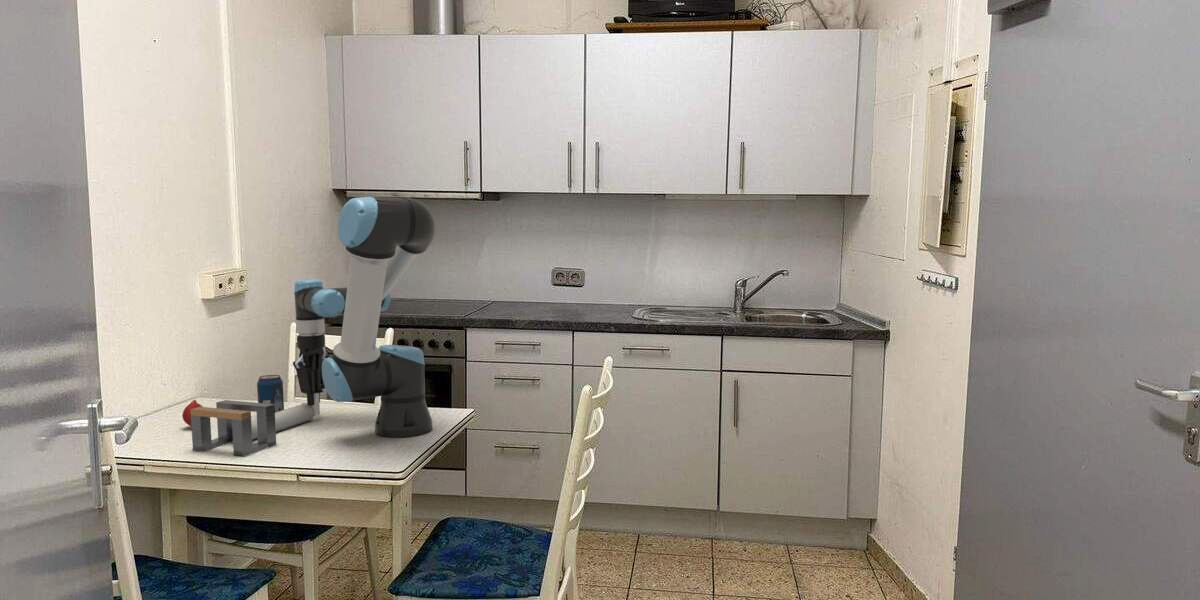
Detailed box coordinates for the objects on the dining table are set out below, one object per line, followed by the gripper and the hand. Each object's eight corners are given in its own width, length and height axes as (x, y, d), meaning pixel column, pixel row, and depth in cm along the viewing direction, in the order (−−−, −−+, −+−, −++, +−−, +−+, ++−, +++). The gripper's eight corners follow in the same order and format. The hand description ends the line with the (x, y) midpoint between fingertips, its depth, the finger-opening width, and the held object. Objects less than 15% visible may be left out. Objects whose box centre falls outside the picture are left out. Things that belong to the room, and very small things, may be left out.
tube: (249, 429, 202) (316, 406, 225) (233, 421, 204) (301, 399, 227) (245, 447, 203) (312, 423, 226) (229, 439, 205) (297, 416, 228)
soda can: (263, 414, 235) (261, 374, 234) (287, 413, 235) (285, 374, 234) (254, 420, 228) (252, 379, 227) (279, 419, 228) (277, 378, 227)
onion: (180, 431, 216) (178, 402, 215) (187, 426, 222) (185, 397, 221) (203, 430, 217) (201, 401, 216) (209, 424, 223) (207, 396, 222)
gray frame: (276, 444, 202) (274, 404, 201) (243, 456, 191) (241, 414, 190) (227, 439, 207) (225, 399, 206) (192, 450, 197) (190, 409, 196)
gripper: (315, 330, 232) (319, 409, 234) (283, 336, 220) (287, 419, 222) (336, 331, 229) (340, 411, 231) (305, 337, 217) (309, 422, 219)
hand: (314, 415), depth 227 cm, fingers closed
